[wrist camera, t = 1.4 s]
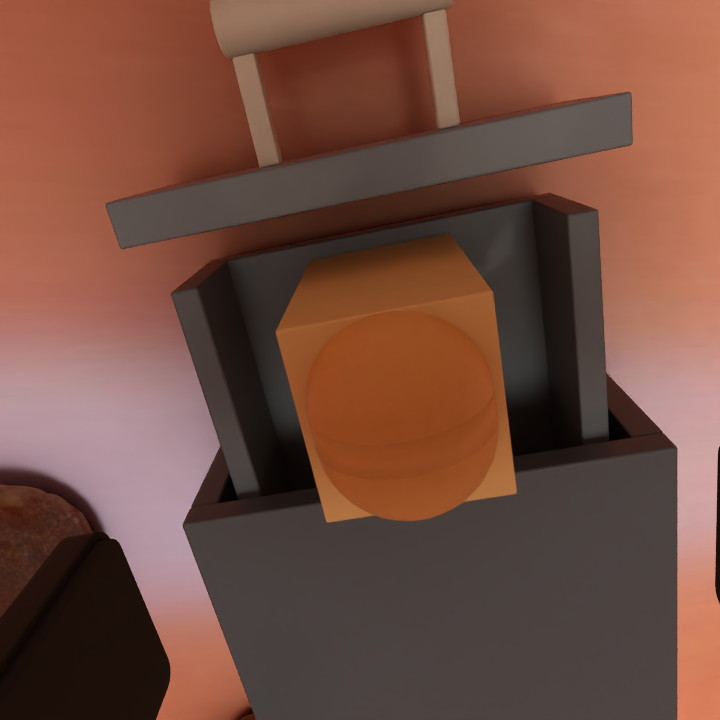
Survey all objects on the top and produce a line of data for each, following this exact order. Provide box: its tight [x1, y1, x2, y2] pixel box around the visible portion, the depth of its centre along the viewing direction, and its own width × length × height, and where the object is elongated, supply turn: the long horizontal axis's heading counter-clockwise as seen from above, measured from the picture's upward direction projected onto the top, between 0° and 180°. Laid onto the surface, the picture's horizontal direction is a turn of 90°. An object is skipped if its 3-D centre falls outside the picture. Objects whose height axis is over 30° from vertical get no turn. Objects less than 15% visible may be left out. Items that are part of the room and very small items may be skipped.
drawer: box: [105, 0, 633, 500], centre depth 18 cm, size 17×13×5 cm
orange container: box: [276, 233, 517, 522], centre depth 15 cm, size 5×5×9 cm
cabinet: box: [183, 373, 677, 720], centre depth 22 cm, size 14×14×7 cm
